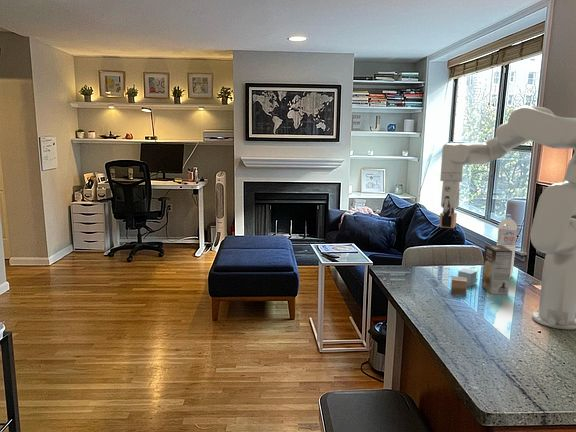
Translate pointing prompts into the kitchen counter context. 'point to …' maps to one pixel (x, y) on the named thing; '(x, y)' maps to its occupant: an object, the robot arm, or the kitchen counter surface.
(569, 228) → the robot arm
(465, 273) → the slate cube
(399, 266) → the kitchen counter surface
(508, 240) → the water bottle
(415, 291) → the kitchen counter surface
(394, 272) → the kitchen counter surface
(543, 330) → the kitchen counter surface
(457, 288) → the walnut cube
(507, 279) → the coffee box
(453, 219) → the terracotta cube
